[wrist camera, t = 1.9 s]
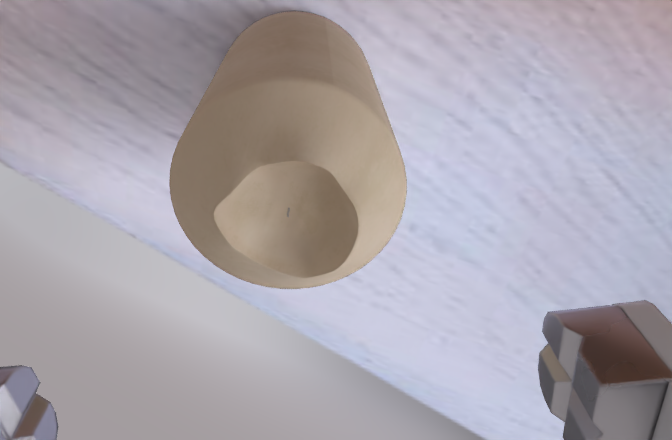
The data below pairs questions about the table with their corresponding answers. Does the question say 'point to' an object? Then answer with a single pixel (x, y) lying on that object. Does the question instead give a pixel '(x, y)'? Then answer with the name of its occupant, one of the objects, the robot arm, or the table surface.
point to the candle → (290, 158)
